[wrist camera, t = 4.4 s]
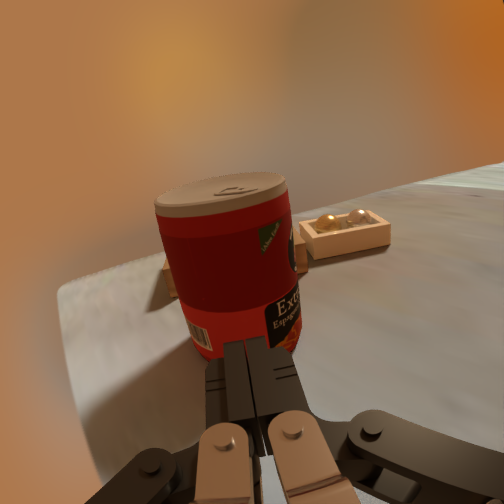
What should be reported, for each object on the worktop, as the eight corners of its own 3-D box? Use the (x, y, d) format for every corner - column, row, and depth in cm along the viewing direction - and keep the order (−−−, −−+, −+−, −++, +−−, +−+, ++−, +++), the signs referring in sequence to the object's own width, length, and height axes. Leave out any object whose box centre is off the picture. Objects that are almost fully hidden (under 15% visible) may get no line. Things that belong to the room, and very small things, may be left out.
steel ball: (365, 228, 36) (364, 204, 35) (376, 236, 34) (376, 211, 32) (343, 232, 36) (341, 208, 35) (352, 241, 33) (351, 215, 32)
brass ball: (336, 233, 36) (335, 209, 35) (346, 243, 33) (345, 216, 32) (312, 238, 36) (310, 213, 35) (320, 248, 33) (318, 221, 32)
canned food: (302, 373, 18) (282, 193, 14) (180, 371, 20) (128, 214, 16) (304, 304, 25) (288, 166, 21) (209, 309, 27) (179, 182, 22)
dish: (368, 228, 38) (368, 210, 37) (390, 244, 33) (390, 223, 32) (300, 241, 37) (298, 222, 36) (314, 260, 32) (312, 238, 31)
